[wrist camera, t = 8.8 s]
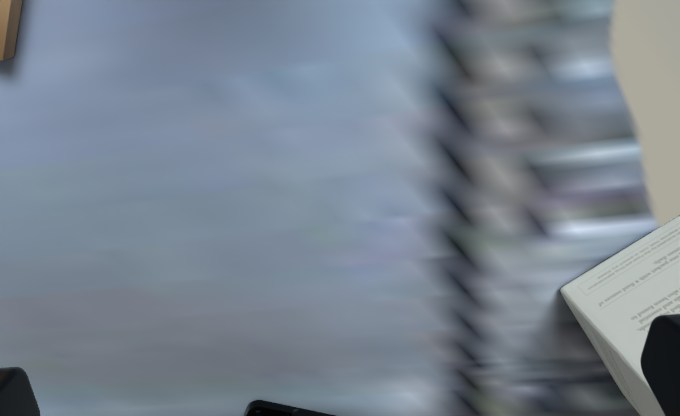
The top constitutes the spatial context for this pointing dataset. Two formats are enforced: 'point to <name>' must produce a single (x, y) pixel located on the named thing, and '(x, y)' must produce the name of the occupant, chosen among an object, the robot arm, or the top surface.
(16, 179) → the top surface
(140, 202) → the top surface
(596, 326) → the supplement box
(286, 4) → the top surface
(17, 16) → the thin square board
